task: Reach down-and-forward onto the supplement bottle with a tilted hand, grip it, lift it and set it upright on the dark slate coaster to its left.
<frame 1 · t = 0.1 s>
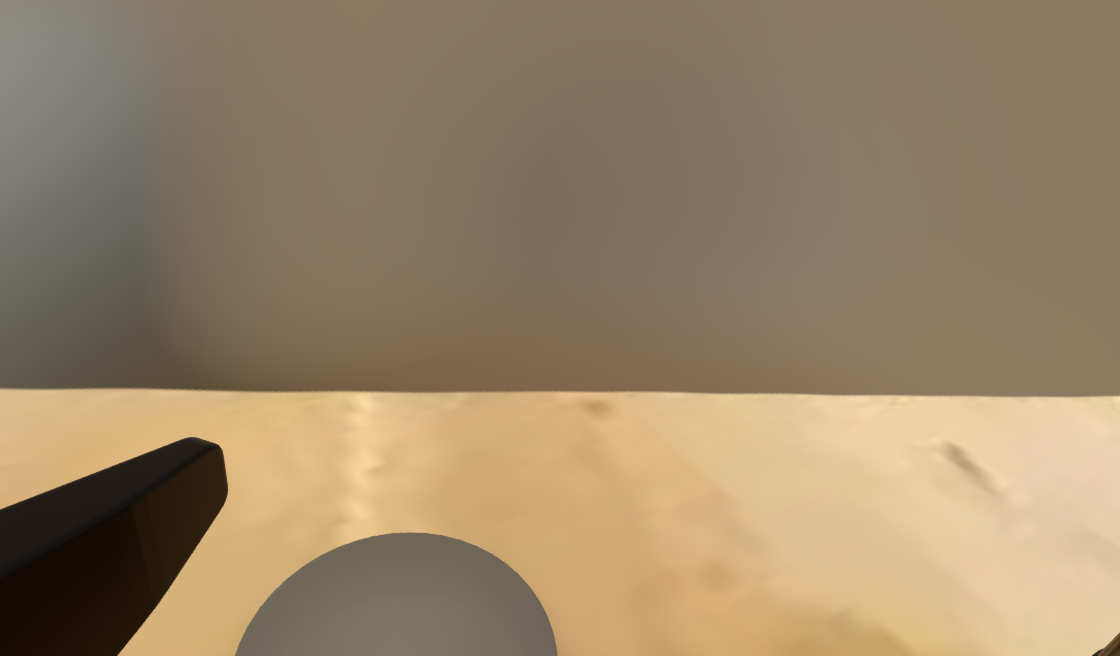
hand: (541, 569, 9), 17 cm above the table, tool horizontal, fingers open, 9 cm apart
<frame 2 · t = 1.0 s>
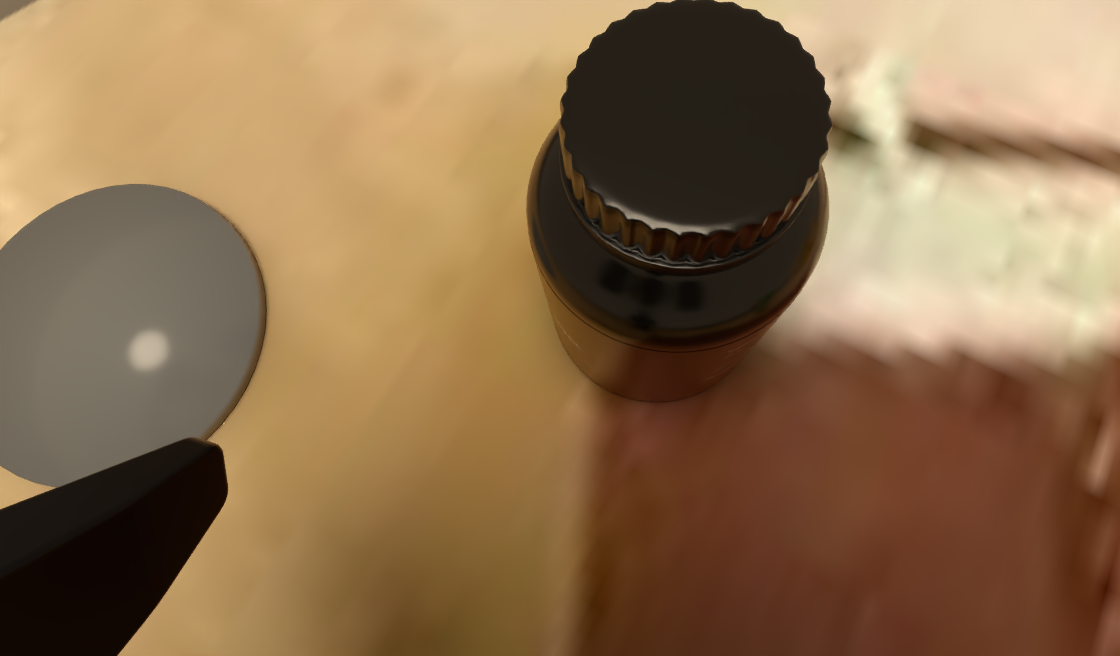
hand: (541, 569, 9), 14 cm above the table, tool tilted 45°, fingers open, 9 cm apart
coaster: (116, 331, 25), on the table
supplement bottle: (653, 309, 24), on the table
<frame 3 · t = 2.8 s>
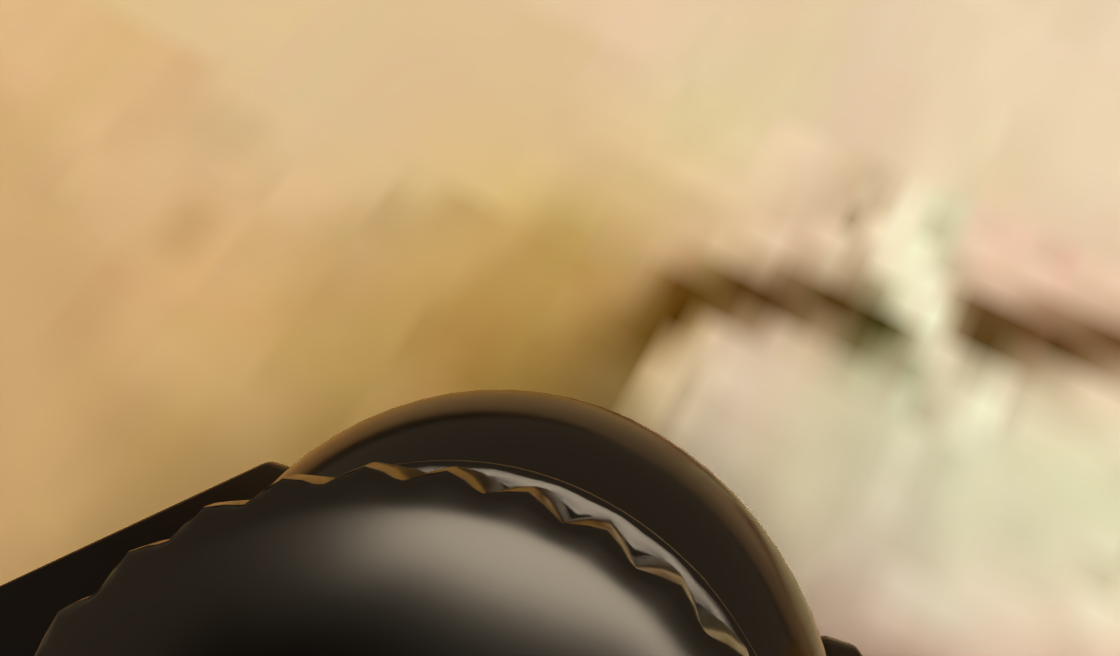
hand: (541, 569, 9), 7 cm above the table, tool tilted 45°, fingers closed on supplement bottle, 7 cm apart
supplement bottle: (557, 612, 15), on the table, touching gripper
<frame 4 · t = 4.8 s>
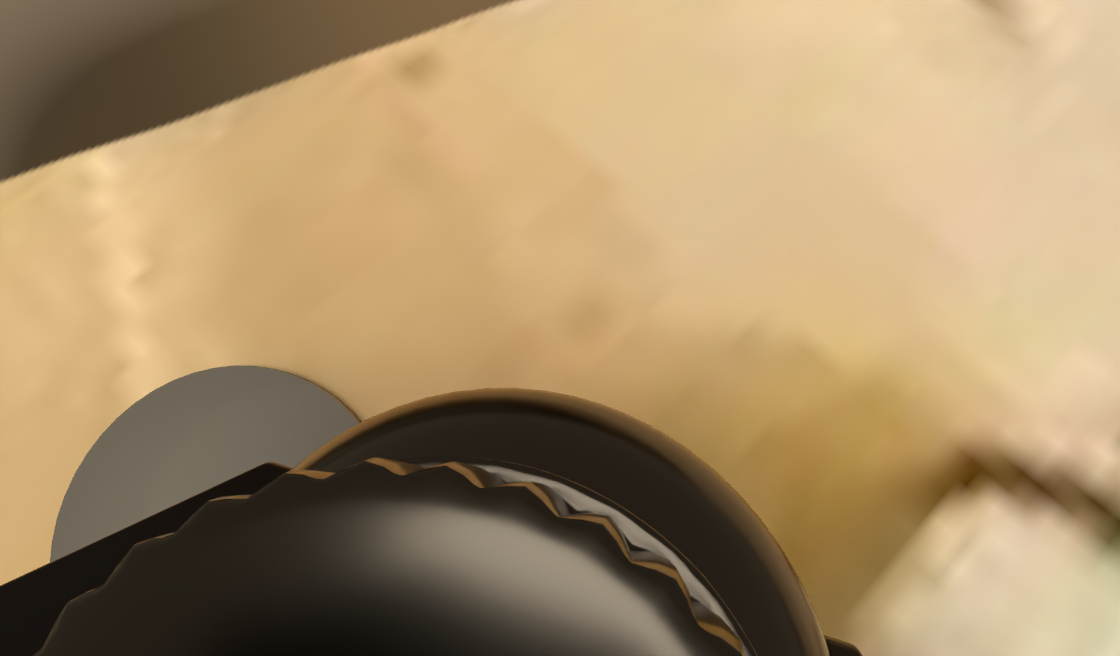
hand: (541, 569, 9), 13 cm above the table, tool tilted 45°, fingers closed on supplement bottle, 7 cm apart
coaster: (228, 537, 22), on the table
supplement bottle: (564, 611, 15), point 6 cm above the table, touching gripper
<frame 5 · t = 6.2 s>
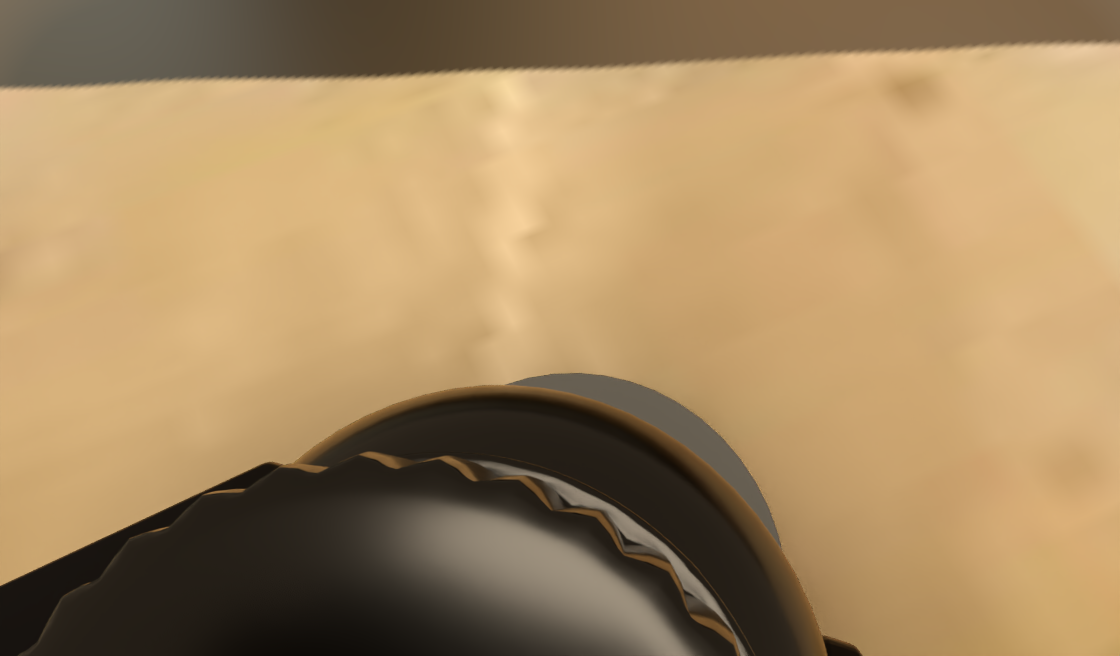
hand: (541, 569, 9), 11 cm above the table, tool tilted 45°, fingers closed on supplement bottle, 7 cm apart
coaster: (571, 580, 19), on the table
supplement bottle: (564, 609, 15), point 4 cm above the table, touching gripper
when the fingers open (8 cm above the table, at t = 7.2 s): supplement bottle stays where it is, resting on coaster.
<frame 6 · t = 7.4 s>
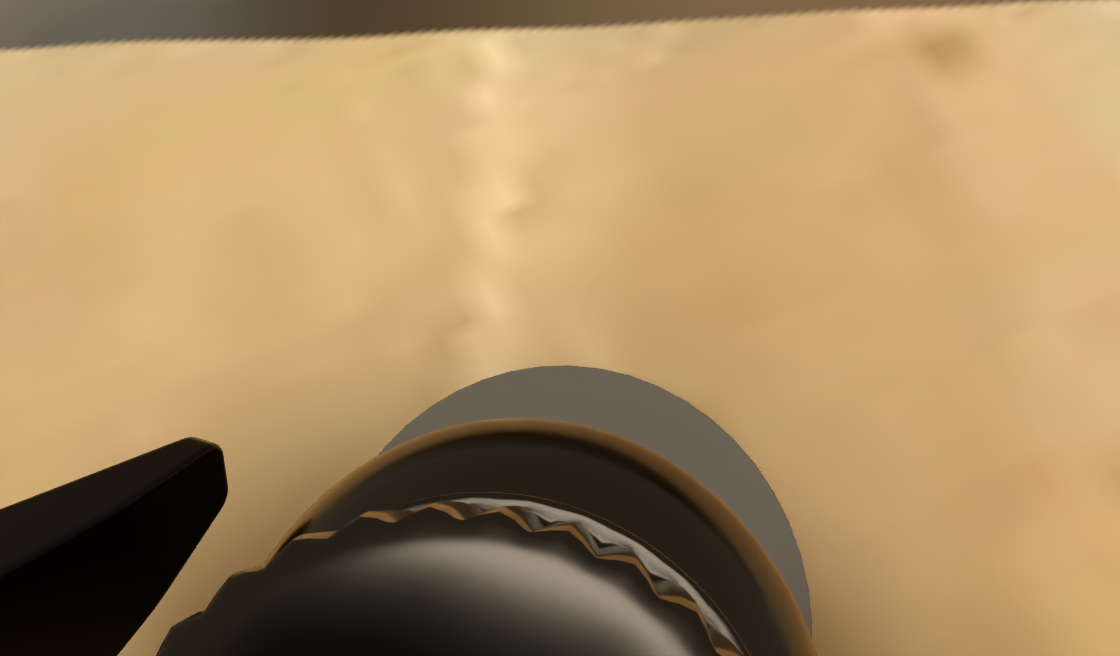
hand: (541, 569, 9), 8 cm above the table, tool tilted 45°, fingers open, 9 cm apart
coaster: (560, 604, 16), on the table
supplement bottle: (564, 616, 16), resting on coaster
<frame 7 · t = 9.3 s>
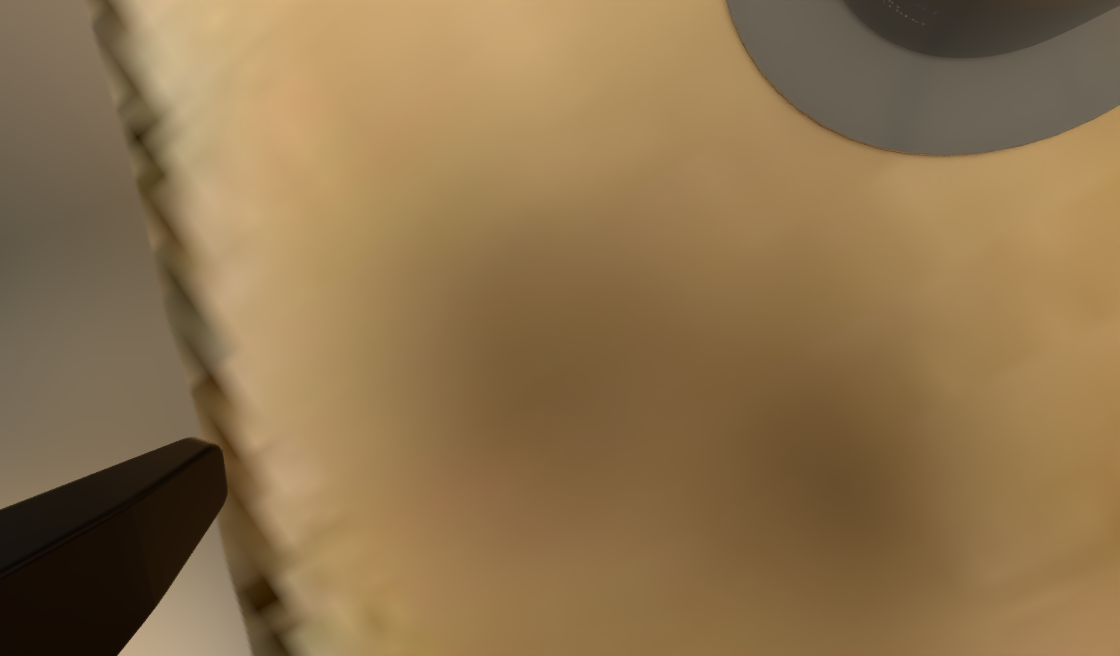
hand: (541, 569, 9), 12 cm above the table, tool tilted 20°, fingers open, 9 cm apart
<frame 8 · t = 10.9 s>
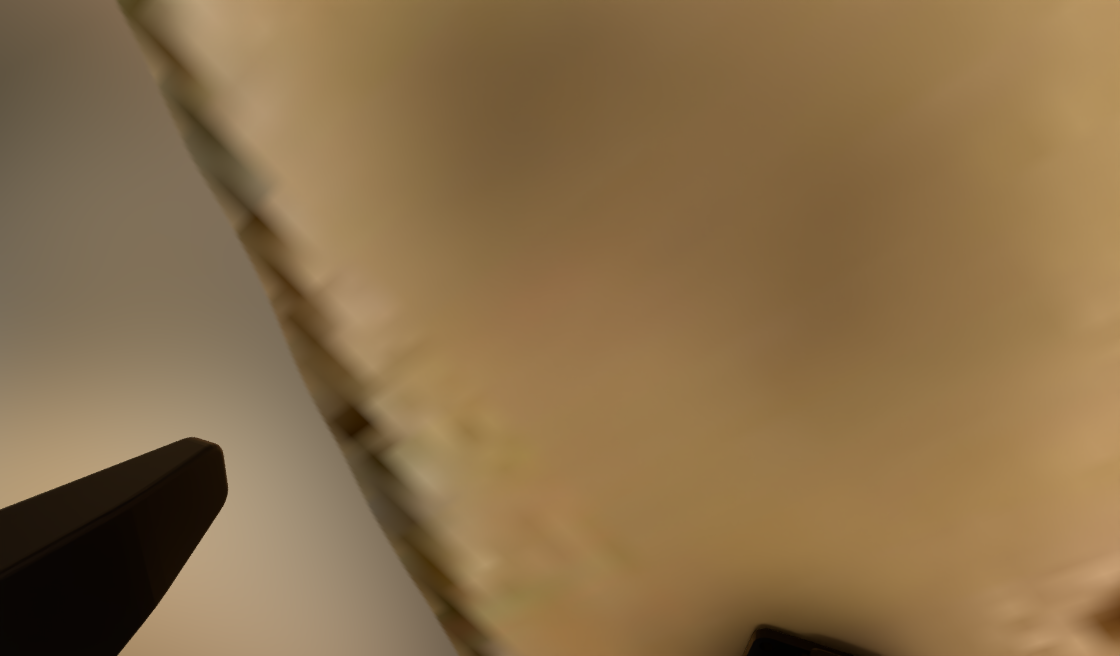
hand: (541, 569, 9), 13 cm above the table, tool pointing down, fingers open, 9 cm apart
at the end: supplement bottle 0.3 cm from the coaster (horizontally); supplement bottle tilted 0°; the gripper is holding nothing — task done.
